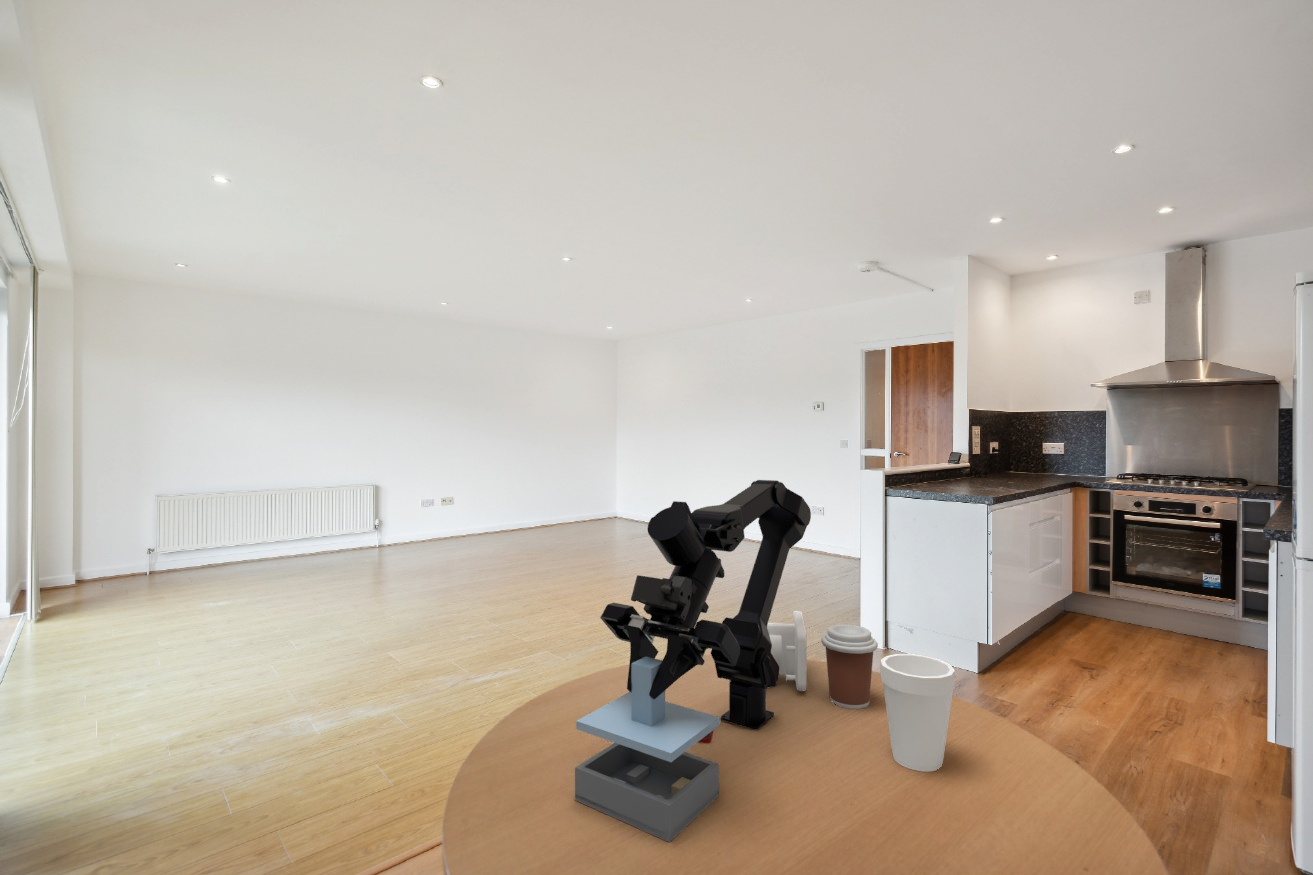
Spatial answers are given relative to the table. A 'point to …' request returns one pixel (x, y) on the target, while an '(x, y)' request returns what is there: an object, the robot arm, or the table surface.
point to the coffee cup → (849, 664)
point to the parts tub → (647, 788)
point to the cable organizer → (790, 649)
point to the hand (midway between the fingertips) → (640, 694)
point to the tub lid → (648, 718)
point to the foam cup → (917, 708)
